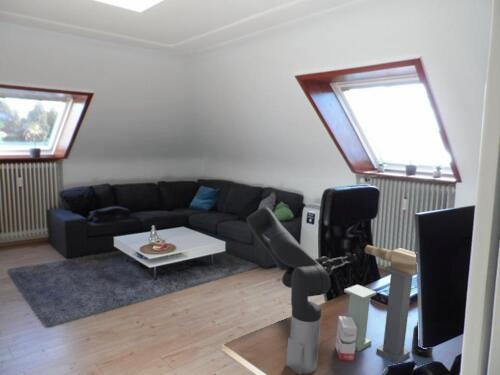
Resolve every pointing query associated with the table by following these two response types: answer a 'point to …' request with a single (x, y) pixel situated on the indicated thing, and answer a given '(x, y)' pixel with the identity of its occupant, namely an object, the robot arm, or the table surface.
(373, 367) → the table surface
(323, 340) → the table surface
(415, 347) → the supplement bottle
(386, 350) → the tall stand
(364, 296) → the low stand
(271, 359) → the table surface
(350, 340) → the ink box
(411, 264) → the wooden leg
